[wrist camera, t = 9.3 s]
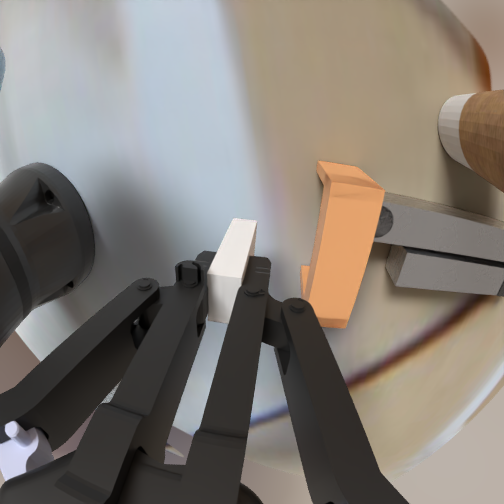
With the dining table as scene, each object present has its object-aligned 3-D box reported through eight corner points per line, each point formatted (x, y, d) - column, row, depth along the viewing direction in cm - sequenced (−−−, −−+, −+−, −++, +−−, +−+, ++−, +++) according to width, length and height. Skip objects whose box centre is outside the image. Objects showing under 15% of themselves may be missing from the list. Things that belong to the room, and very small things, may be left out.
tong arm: (385, 266, 23) (395, 286, 20) (394, 235, 21) (407, 253, 19) (503, 281, 22) (517, 297, 19) (513, 258, 20) (528, 273, 17)
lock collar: (300, 273, 24) (302, 325, 18) (317, 160, 19) (331, 181, 14) (333, 276, 24) (345, 328, 18) (356, 166, 19) (385, 190, 13)
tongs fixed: (349, 223, 21) (358, 239, 19) (356, 187, 20) (367, 199, 17) (514, 253, 20) (529, 267, 17) (523, 228, 19) (540, 241, 16)
